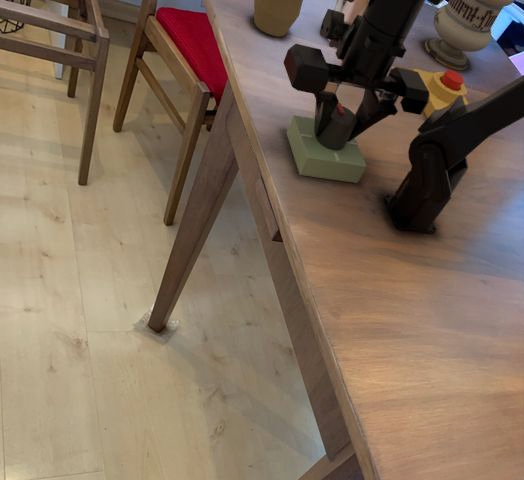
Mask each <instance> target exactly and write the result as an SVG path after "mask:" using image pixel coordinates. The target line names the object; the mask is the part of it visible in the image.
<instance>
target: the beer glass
mask: <svg viewBox="0 0 524 480" xmlns="http://www.w3.org/2000/svg"><path fill="white" fill-rule="evenodd" d="M368 2H369V0H355V1H354V2H352V3H350V2H348V1H347V0H336V2H335V7H334V9H333V10H335V11H339V12H341V13H344V15H345V17H344V21H346V22H350V23H353V21H354V19H355V17H356V16H357V15H361V16H362V15H363V13H364V11H365V9H366V6H367V4H368ZM326 40H327V42H330V40H328V39H326Z"/></svg>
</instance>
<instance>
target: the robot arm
mask: <svg viewBox="0 0 524 480" xmlns="http://www.w3.org/2000/svg"><path fill="white" fill-rule="evenodd" d="M347 1H348V2H350V3H352V2H354V1H355V0H347ZM426 1H427V2H429V3H430V4H432V5H434V6H438V5H440V4H441V3H442V2H444V1H445V0H369V2H368V4H367V6H366V9H365V11H364V13H363V15H362V16H361V15H357V16H356V17H355V19H354V21H353V23H350V22H346V21H344V17H345V15H344V13H341V12H339V11H335V10H334V9H332V8H327V10H326V12H325V14H324V17H323V19H322V21H321V25H320V29H319V35H320V36H319V37H321V38H323V39H325V40H327V39H328V40H330V41H329V44H328V47H330V48H335V49H336V51H335V56H336V58H337V60H340V61H341V63H340V65H338V64H336V63H335V64H334V63H329V62H327V60H326V59H325V58H326V57H325V56H324V54H323V51H322V49H321V48H316V47H314V46H313V47H312V46H308V45H303V44H301V43H300V44H299V43H294V44H293V45H291V47H289V48H288V50H287V51H286V54H285V56H284V59H283V65H284V68H285V71H286V74H287V77H288V80H289V82H290V85H291V88H293V89H294V90H296V91H297V92H302V93H308V94H313V95H314V98H315V108H314V109H315V110H314V119H315V122H314V134H315V136H317V137H318V136H319V135H320V134H321V132H322V131H323V129H324V128H325V126H326V124H327V122H328V120H329V119H330V117H331V115H332V113H333V111H334V110H335V108H336V106H337V104H338V103H340V101H339V99H338V96H337V91H338V89H339V86H340V85H344V86H349V87H353V88H357V89H363V90H364V92H363V97H362V100H361V102H360V104H359V106H358V108H357V110H356V112H355V113H354V114H355V116H356V118H357V123H356V125H355V127H354V129H353V131H352V133H351V135H350V137H349V139H348V141H347V142H350V141H351V140H353V139H354V138H355V139H356V138H357V137H358V136H360V135H361V134H363V133H364V132H365V131H367V130H368V129H369V128H371V127H372V126H374V125H376V124H377V123H379V122H381V121H383V120H384V119H386V118H387V117H389V116H396V115H397V114H398V112H399V110H398V109H397V107H396V103H397V101H398V99H399V98H400V97H401V100H400V101H399V104H400V106H401V109H402V112H404V113H408V114H414V115H418V116H421V115H422V114H423V113H424V109H425V108H426V106H427V104H428V103H429V97H430V94H429V91H428V89H427V87H426V85H425V84H424V82H423V80H422V78H421V76H420V75H419V73H418V72H416V71H412V69H407V68H403V67H399V66H395V67H393V68H392V66H393V64H394V62H395V60H396V59H397V58H401V59H403V58H404V56H405V54H406V52H407V48H406V46H405V44H404V43H405V41H406V39H407V37H408V35H409V33H410V31H411V29H412V27H413V25H414V24H415V22H416V20H417V17H418V16H419V14H420V12H421V10H422V9H423V6H424V4H425V2H426ZM328 40H327V41H328ZM521 119H524V74H523V75H521V76H519V77H517V78H516V79H514V80H513V81H511V82H510V83H508V84H506V85H505V86H503V87H501V88H499V89H497V90H496V91H494V92H493V93H491V94H489V95H488V96H486V97H484V98H483V99H481V100H478V101H474V102H471V103H469V104H467V105H465V103H464V100H463V97H462V95H460V96H458V97H457V98H456V99H455V100H454V101H453V102H451V103H450V104H449V105H448V106H446V107H444V108H442V109H439V110H434V111H433V113H432V114H431V115H430V116H429V117H428V118H427V117H426V119H425V120H424V122H422V124H421V125H420V126H419V127H418V128H417V131H418V132H419V133H418V134H417V135H416V136H415V137H414V138H413V139H412V140H411V142H410V144H409V147H408V152H407V153H408V160H409V162H410V165H411V168H410V170H409V171H408V172H407V174H406V176H405V177H404V179H403V180H402V182H401V183H400V185H399V187H398V188H397V190H396V191H395V193H394V194H389V193H386V194H384V196H383V201H384V202H385V205H386V207H387V210H388V212H389V215H390V218H391V219H392V222H393V224H394V227H395V228H396V229H397V230H399V231H408V232H417V233H426V234H436V233H437V231H438V229H437V227H436V225H435V220H436V219H437V218H438V216H439V215H440V214H441V212H442V211H443V210H444V209H445V207H446V206H447V205H448V203H449V202H450V200H451V199H452V197H451V196H452V195H453V193H454V192H455V190H456V188H457V187H458V186H459V184H460V182H461V181H462V179H463V178H464V176H465V174H466V173H467V172H468V170H469V163H468V159H467V157H468V156H469V155H470V154H471V153H472V152H473V151H474V150H476V148H478V147H479V146H481V144H483V142H484V141H486V140H487V139H488V138H489V137H492V136H493V135H494V134H496V133H498V132H500V131H502V130H503V129H506V128H507V127H510V126H511V125H512V124H515V123H516V122H518V121H520V120H521Z"/></svg>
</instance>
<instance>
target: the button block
mask: <svg viewBox="0 0 524 480" xmlns="http://www.w3.org/2000/svg"><path fill="white" fill-rule="evenodd" d="M411 70H412V71H416V72H418V73H419V75H420V76H421V78H422V80H423V82H424V84H425V85H426V87H427V89H428V91H429V94H430V97H429V103H428V104H427V106H426V108H425V109H424V111H423V113H424V114H425V116H426V119H427V118H428V117H429V116H430V115H431V114H432V113H433V111H434V110H439V109H442V108H444V107H446V106H448V105H449V104H450V103H451V102H453V101H454V100H455V99H456V98H457V97H458V96H460V95H462V97H463V100H464V103H465V105H467V104H470V103H469V101H468V100H467V98H466V96H467V94H468V93H467V92H468V89H467V88H466V86H465V84H464V83H463V84H462V85H461V87H460V88H459V90H458V91H455V90H451V89H449V88H447V87H446V86H445V85H444V84H442V83H441V81H440V80H441V78H442V77H443V75H444V73H445V72H443V71H437V72H430V71H425V70H422V69H417V68H412V69H411Z"/></svg>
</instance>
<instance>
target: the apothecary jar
mask: <svg viewBox="0 0 524 480" xmlns="http://www.w3.org/2000/svg"><path fill="white" fill-rule="evenodd" d="M515 2H516V0H448V2H447V3H446V4H444V5H442V6H440V7H439V8H438V9H437V10H436V11H435V13H434V16H433V26H434V30H435V31H436V33H437V34H438V36H439V38H428V39H427V40H426V41H425V42H424V48H425V50H426V52H427V53H428V54H429V55H431V56H432V57H433V58H434V60H435V61H437V62H438V63H440V64H441V65H443V66H446V67H448V68H450V69H452V70H457V71H463V70H466V69H467V68H468V66H469V60H468V58H467V56H466V55H465V53H464V52H468V53H471V52H472V53H473V52H479V51H482V50H484V49H485V48H487V47H488V46H489V44H490V43H491V40H492V27H493V26H494V24H495V22H496V20H497V19H498V17H499V15H500V13H501V12H502V10H503V9H504V8H505V7H507V6H510V5H512V4H514V3H515Z"/></svg>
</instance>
